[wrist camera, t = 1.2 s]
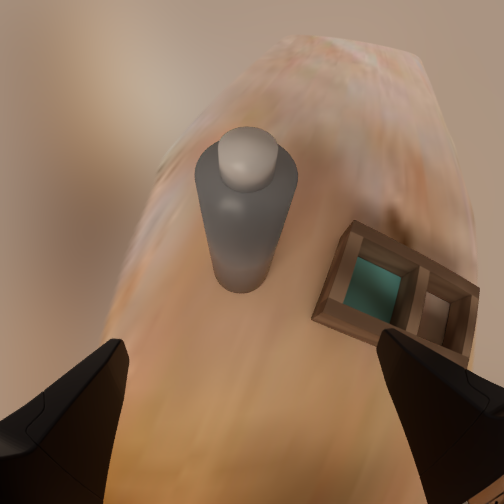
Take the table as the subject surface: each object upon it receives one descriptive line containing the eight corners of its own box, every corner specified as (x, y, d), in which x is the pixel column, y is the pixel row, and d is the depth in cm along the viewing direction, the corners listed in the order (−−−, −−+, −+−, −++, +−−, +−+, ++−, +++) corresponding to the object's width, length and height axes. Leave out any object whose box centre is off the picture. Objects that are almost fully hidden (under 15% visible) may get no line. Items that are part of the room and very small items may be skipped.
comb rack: (443, 372, 21) (466, 370, 18) (310, 319, 23) (323, 312, 20) (459, 297, 24) (479, 288, 21) (340, 237, 26) (354, 219, 23)
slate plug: (254, 302, 23) (280, 212, 10) (204, 279, 24) (168, 167, 10) (276, 255, 25) (318, 132, 11) (228, 234, 25) (224, 101, 12)
